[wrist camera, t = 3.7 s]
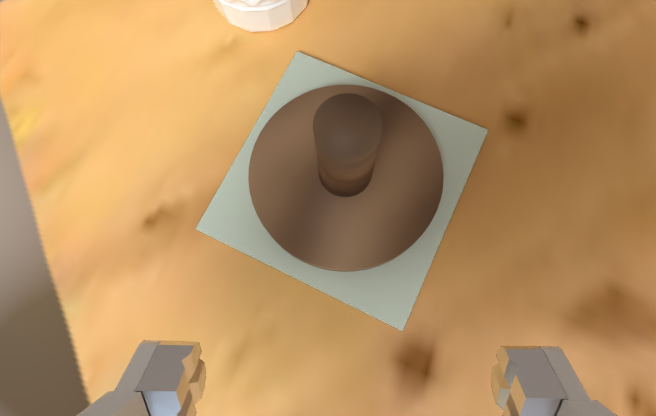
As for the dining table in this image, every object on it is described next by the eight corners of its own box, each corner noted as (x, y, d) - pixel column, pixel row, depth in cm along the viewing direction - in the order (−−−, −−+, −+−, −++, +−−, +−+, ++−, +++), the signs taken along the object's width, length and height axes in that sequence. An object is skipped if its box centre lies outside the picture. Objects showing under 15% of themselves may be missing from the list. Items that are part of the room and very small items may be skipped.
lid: (466, 136, 26) (513, 68, 19) (393, 305, 23) (417, 298, 16) (303, 69, 27) (291, -18, 20) (219, 221, 25) (172, 183, 18)
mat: (485, 133, 26) (488, 129, 26) (401, 331, 23) (402, 331, 23) (297, 55, 28) (297, 51, 28) (198, 230, 25) (195, 228, 25)
